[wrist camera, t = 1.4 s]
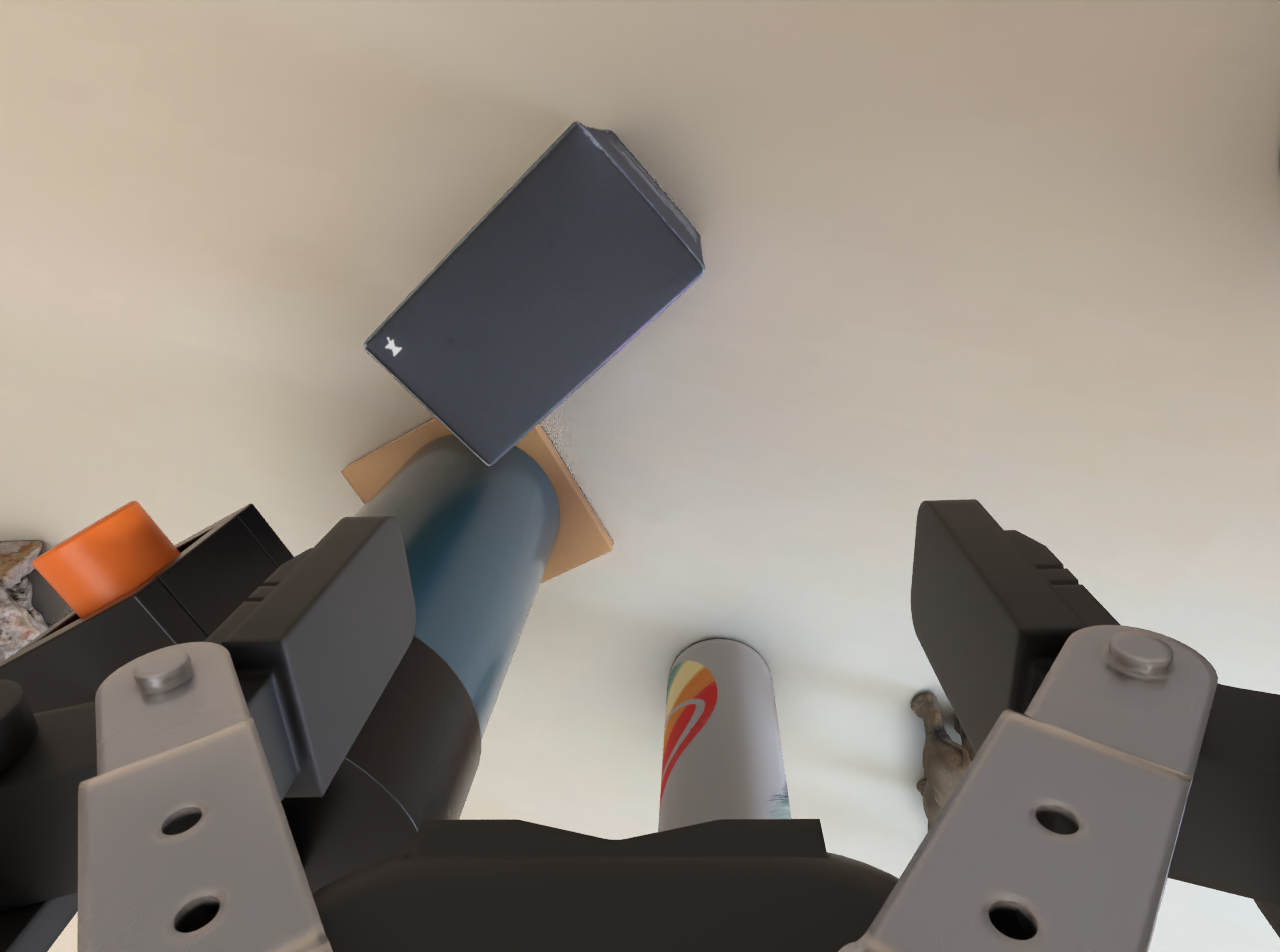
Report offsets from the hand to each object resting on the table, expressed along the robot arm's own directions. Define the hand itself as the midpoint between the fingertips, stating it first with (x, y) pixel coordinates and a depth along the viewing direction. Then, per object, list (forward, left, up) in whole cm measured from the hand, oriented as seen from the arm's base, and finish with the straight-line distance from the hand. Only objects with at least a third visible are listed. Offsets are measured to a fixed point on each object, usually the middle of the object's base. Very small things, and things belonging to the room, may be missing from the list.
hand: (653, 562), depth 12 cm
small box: (+3, -4, -25) cm, 26 cm away
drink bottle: (+14, -1, -24) cm, 28 cm away
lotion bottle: (+13, +17, -25) cm, 33 cm away
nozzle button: (+13, -7, -7) cm, 16 cm away
